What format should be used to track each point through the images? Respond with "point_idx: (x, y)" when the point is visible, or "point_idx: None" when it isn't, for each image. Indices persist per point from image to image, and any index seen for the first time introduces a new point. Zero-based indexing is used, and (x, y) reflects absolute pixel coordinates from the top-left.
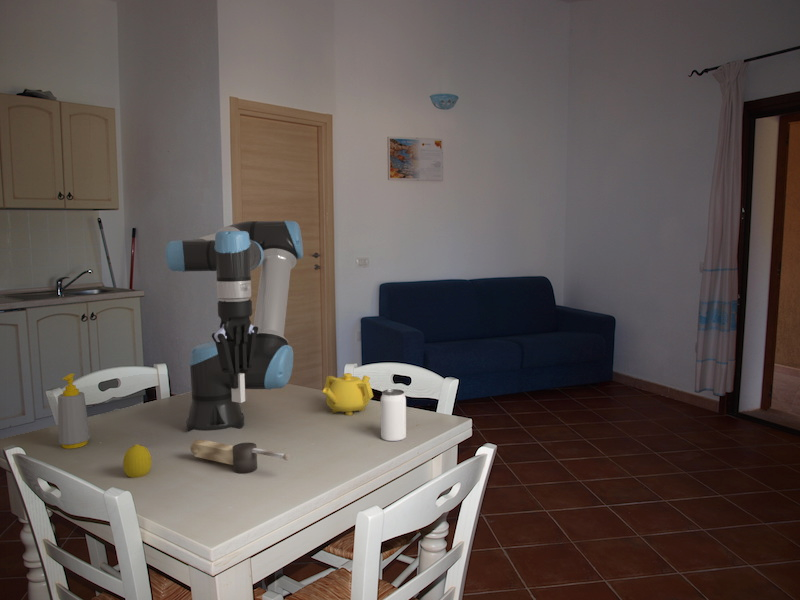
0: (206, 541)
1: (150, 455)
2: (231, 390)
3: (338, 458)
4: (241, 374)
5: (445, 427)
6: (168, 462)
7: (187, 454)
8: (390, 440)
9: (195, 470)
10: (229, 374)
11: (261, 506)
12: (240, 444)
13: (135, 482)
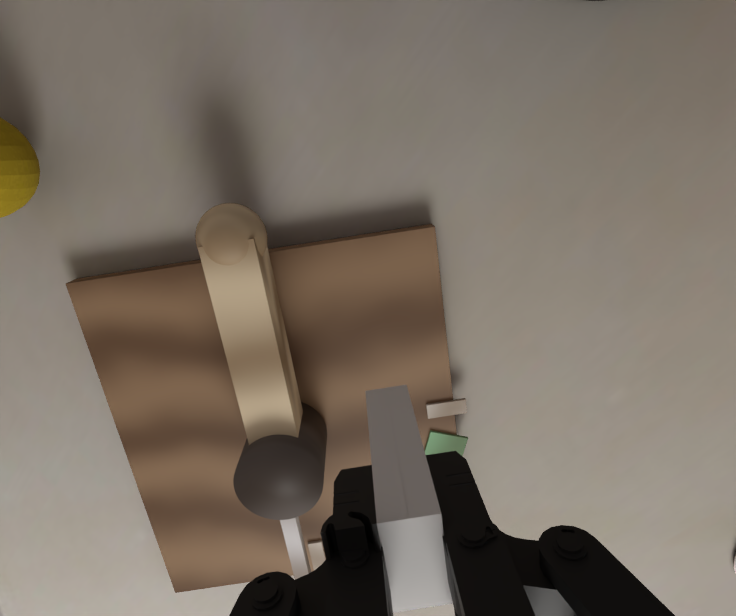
0: (14, 612)
1: (1, 196)
2: (369, 429)
3: None
4: (415, 606)
5: None
6: (181, 91)
7: (281, 78)
8: (734, 569)
9: None
10: (324, 568)
11: None
12: (283, 455)
13: None
